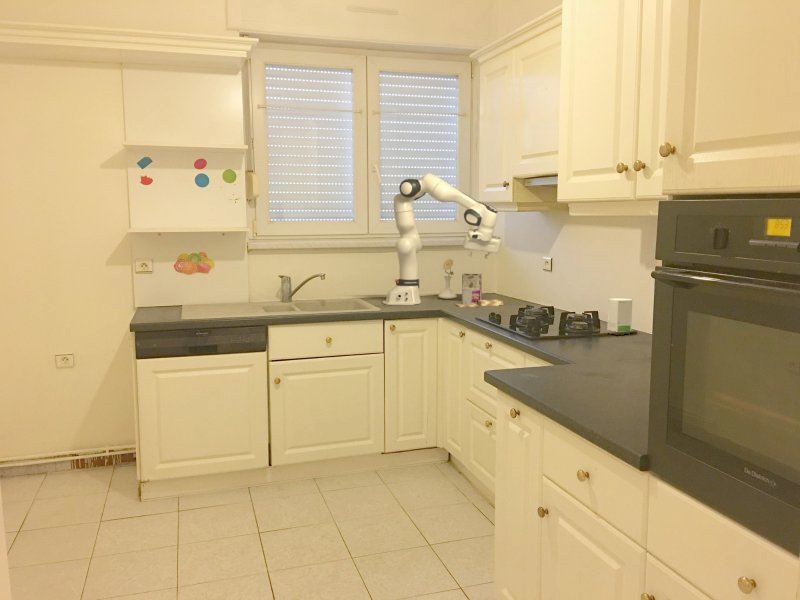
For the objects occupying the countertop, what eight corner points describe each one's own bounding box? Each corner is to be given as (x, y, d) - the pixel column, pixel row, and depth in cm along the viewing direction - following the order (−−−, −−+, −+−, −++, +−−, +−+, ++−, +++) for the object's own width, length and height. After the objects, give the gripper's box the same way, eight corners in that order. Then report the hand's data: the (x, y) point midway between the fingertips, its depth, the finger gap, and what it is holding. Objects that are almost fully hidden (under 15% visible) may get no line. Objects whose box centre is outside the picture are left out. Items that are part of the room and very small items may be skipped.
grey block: (463, 305, 378) (463, 291, 377) (462, 304, 380) (462, 290, 379) (471, 304, 379) (471, 290, 378) (470, 304, 381) (470, 290, 380)
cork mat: (459, 307, 373) (459, 306, 373) (454, 304, 385) (454, 303, 384) (479, 306, 374) (479, 306, 374) (474, 304, 386) (474, 303, 386)
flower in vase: (435, 298, 414) (436, 257, 411) (452, 297, 417) (453, 257, 414) (443, 300, 401) (443, 259, 398) (460, 299, 405) (461, 258, 402)
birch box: (480, 305, 378) (480, 301, 378) (477, 304, 385) (477, 300, 385) (502, 305, 380) (503, 301, 380) (499, 303, 387) (499, 299, 387)
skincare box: (616, 336, 285) (617, 300, 283) (605, 333, 291) (607, 298, 289) (631, 335, 288) (633, 299, 286) (620, 332, 294) (622, 297, 292)
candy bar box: (481, 300, 401) (482, 273, 399) (480, 301, 396) (480, 274, 394) (463, 300, 404) (463, 273, 402) (461, 301, 400) (462, 273, 397)
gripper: (501, 235, 372) (494, 257, 378) (465, 229, 368) (459, 252, 375) (503, 239, 366) (496, 262, 373) (467, 234, 363) (461, 257, 370)
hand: (478, 256), depth 374 cm, fingers open, 8 cm apart
